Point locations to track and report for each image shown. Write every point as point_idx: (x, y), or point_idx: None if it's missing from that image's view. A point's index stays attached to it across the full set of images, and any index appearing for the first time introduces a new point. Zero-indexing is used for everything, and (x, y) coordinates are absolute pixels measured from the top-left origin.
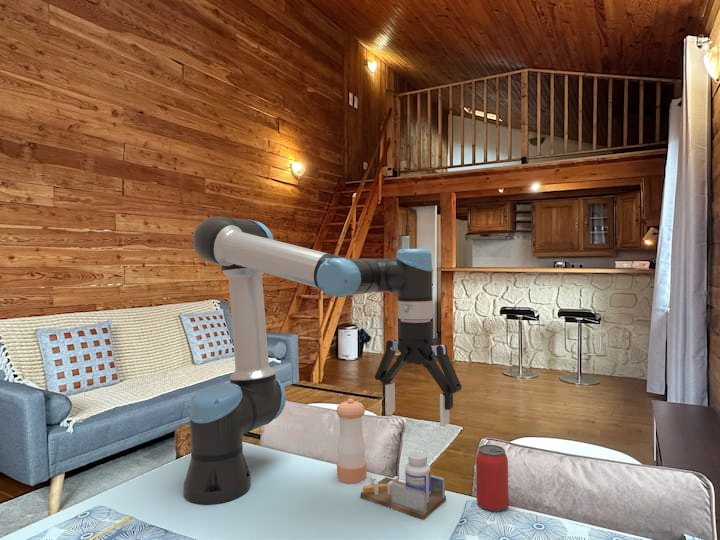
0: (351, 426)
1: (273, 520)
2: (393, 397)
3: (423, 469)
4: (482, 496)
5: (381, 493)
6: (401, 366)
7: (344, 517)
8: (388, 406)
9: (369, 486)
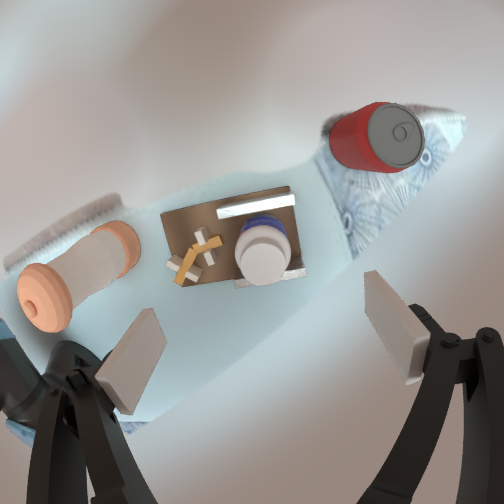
0: (79, 301)
1: (171, 379)
2: (135, 346)
3: (286, 263)
4: (359, 169)
5: (203, 263)
6: (127, 471)
7: (215, 332)
8: (158, 357)
9: (181, 274)
